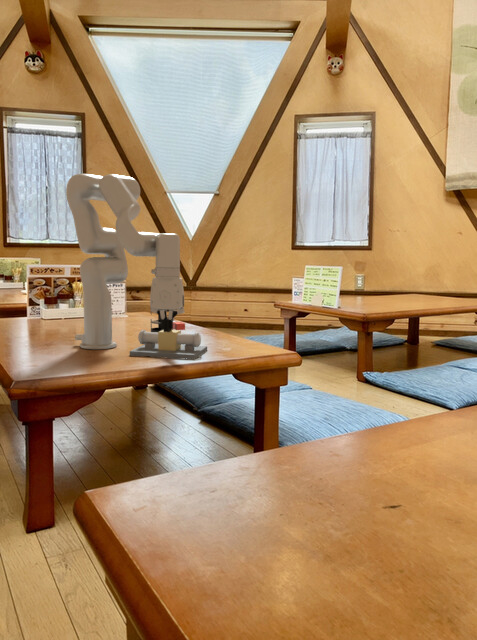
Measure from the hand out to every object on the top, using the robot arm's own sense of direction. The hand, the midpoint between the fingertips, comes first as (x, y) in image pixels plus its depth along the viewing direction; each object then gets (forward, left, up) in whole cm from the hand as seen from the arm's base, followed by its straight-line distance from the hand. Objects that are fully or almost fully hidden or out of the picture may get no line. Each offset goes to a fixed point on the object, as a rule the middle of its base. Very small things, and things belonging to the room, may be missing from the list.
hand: (167, 331), depth 167 cm
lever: (0, +6, +1) cm, 6 cm away
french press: (-17, +41, -9) cm, 45 cm away
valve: (-3, +10, -9) cm, 14 cm away
